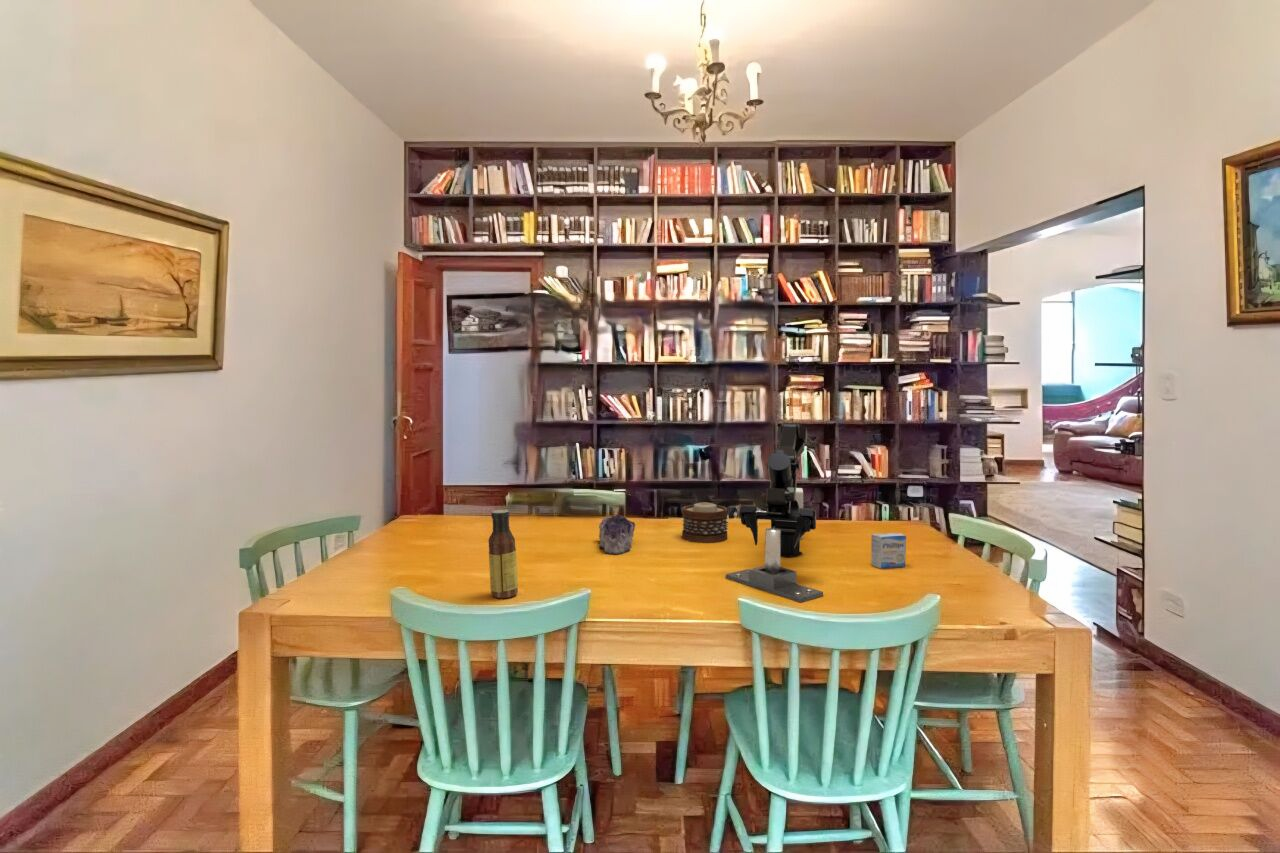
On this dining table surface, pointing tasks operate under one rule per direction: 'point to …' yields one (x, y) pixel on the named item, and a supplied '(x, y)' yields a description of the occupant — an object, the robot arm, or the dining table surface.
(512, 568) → the sauce bottle
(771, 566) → the pin
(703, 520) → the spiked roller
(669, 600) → the dining table surface
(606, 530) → the geode
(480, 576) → the dining table surface
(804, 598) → the grey socket base plate
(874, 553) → the medicine box
